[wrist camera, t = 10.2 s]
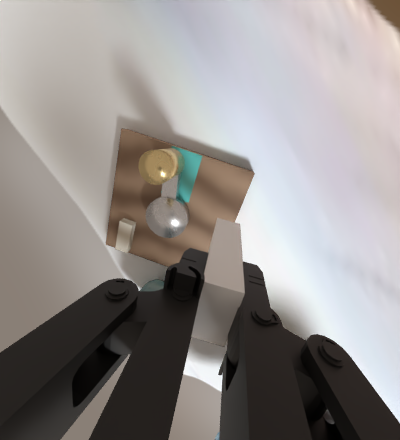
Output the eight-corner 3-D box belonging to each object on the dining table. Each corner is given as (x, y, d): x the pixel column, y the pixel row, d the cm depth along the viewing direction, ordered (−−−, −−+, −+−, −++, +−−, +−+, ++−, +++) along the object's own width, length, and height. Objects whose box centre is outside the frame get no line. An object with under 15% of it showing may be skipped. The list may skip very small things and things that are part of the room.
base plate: (211, 275, 41) (209, 287, 38) (111, 239, 42) (100, 248, 39) (253, 171, 33) (255, 174, 30) (127, 129, 34) (116, 127, 30)
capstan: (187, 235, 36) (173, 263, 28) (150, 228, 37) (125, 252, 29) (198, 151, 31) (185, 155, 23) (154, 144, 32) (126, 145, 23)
